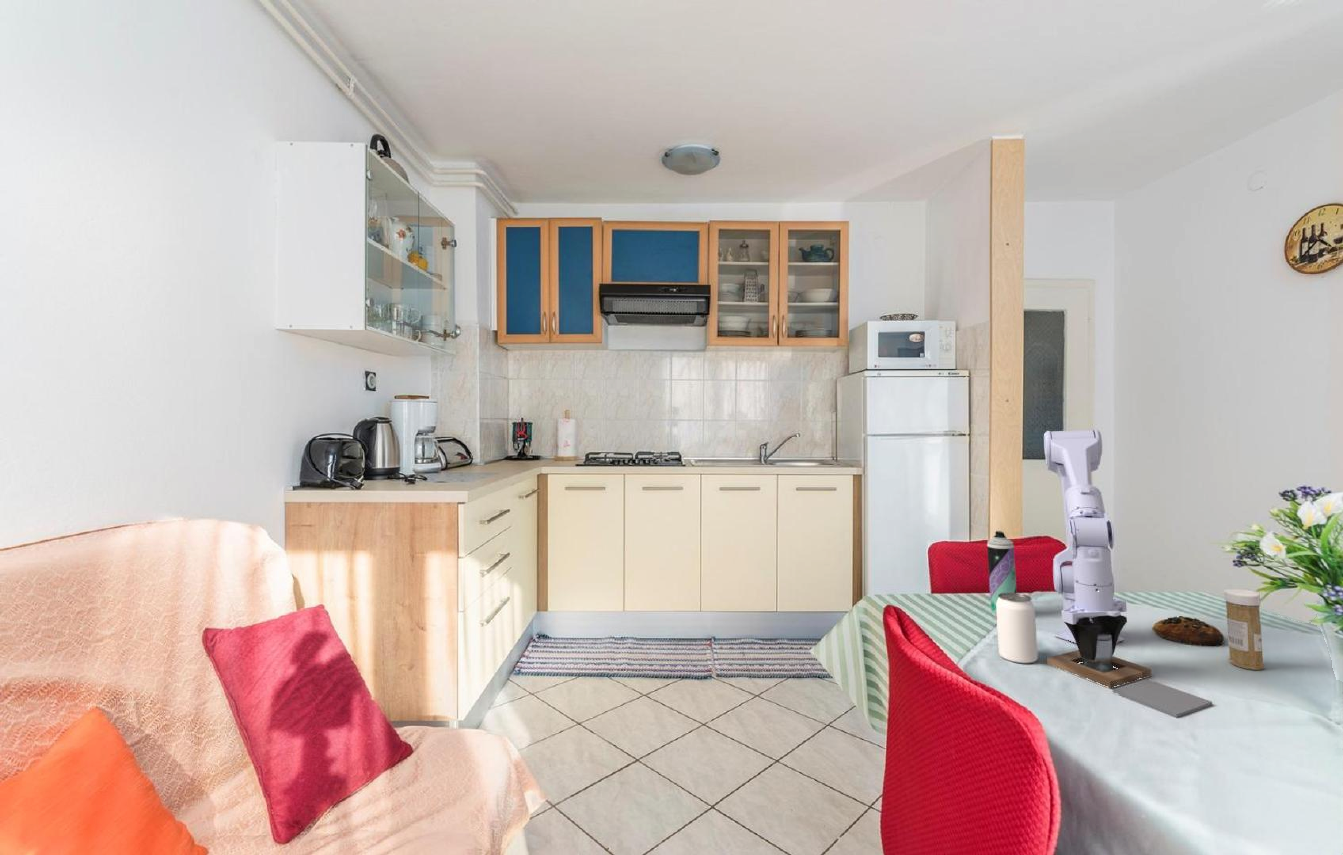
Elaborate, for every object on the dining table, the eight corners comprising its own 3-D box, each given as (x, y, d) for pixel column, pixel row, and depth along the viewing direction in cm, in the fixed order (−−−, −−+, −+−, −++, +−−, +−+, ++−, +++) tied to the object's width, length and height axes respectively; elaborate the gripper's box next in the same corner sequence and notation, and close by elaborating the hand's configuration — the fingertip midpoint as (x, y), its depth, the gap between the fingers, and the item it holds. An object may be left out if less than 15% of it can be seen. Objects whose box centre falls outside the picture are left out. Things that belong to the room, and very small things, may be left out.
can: (1043, 665, 104) (1040, 601, 104) (1006, 663, 106) (1002, 601, 106) (1029, 651, 111) (1025, 591, 111) (993, 650, 112) (990, 591, 112)
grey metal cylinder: (1093, 662, 104) (1091, 626, 104) (1119, 672, 100) (1117, 633, 100) (1076, 667, 103) (1074, 630, 103) (1102, 677, 98) (1100, 638, 98)
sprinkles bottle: (1271, 671, 97) (1267, 595, 97) (1240, 670, 98) (1236, 595, 98) (1251, 660, 102) (1246, 588, 102) (1221, 659, 103) (1217, 587, 103)
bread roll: (1209, 651, 106) (1204, 624, 107) (1142, 640, 116) (1138, 616, 117) (1238, 641, 111) (1232, 616, 111) (1171, 632, 121) (1166, 609, 121)
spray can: (987, 611, 134) (982, 529, 135) (1011, 611, 134) (1006, 529, 134) (997, 619, 129) (992, 534, 129) (1022, 618, 128) (1017, 533, 128)
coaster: (1147, 681, 96) (1147, 678, 96) (1212, 704, 87) (1212, 701, 87) (1112, 692, 93) (1112, 689, 93) (1176, 717, 84) (1176, 714, 84)
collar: (1087, 653, 108) (1086, 647, 108) (1151, 675, 98) (1151, 669, 98) (1047, 664, 105) (1047, 657, 105) (1110, 688, 94) (1109, 681, 94)
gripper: (1088, 593, 95) (1093, 672, 95) (1143, 581, 100) (1147, 656, 100) (1048, 583, 102) (1053, 656, 102) (1101, 572, 107) (1105, 642, 107)
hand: (1097, 655), depth 101 cm, fingers closed on grey metal cylinder, 4 cm apart
